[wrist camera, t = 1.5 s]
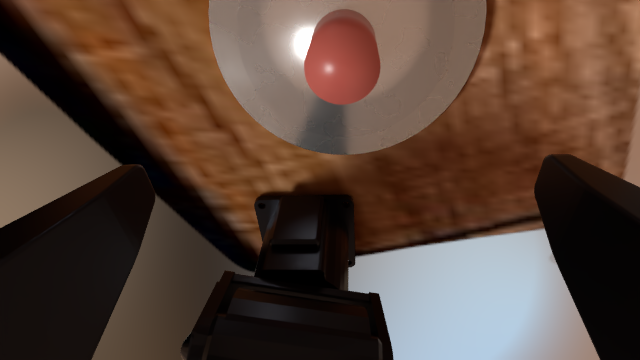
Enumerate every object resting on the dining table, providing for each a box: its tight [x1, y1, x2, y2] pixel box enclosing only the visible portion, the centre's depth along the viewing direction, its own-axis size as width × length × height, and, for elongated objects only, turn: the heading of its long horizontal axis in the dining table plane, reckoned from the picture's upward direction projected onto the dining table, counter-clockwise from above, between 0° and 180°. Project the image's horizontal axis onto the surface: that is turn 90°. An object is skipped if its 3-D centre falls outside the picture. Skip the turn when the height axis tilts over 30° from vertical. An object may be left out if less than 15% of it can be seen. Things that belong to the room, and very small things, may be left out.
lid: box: [209, 0, 486, 155], centre depth 17 cm, size 13×13×5 cm
